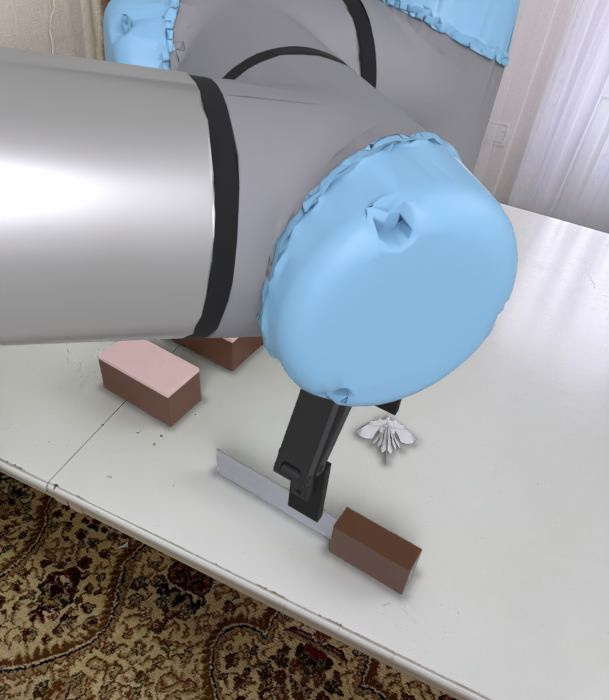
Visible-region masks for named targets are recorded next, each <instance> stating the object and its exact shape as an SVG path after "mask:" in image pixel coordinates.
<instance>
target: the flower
mask: <svg viewBox="0 0 609 700" xmlns="http://www.w3.org/2000/svg"><path fill="white" fill-rule="evenodd" d="M391 415H392V414H390V413H388V412H387V416H385V418H384V419H382V417H381V416H380V417H379V418H378V419H377V420H369V421H368V424H366V425H365V426H363V427H361V428H359V429H357V430H356V432H357V434H358V435H359V436H360V437H361V438H363V439H373V438H374V437H375V435H376V433H377V432H378V431H379V433H378V435H377V436H376V437H375V438H374V440H373V441H372V442H371V446H372V445H375V444H376V443H377V444H376V445H377V447H380V448H379V449H380V452H381V453H384V452H385V457H387V454H388V453H389V454H392V452H393V447H394V449H395V450H396V449H397V446H398V448H399V449H401V444H400V443H403V444H406V445H412V444H414V443H415V442H416V441H417V440H418V438H417V437H416V436H415V435H414V434H413V433H412V432H410V431H409V429H407V427H406V425H405V424H401V423H399V422H398V420H397V419H396V418H395V419H394V420H391V417H390V416H391ZM392 416H393V415H392ZM395 434H397V436H398V438H399V441H400V442H399V441H398V439H397V438H396V435H395ZM396 445H397V446H396ZM387 452H388V453H387Z"/></svg>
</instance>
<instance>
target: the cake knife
mask: <svg viewBox="0 0 609 700" xmlns="http://www.w3.org/2000/svg"><path fill="white" fill-rule="evenodd" d="M216 470H217V471H216V473H217V474H219V475H221V476H222V477H224V478H226V479H228V480H229V481H231V482H233V483H235V484H236V485H237V486H239V487H240V488H243V489H244V490H246V491H247V492H249V493H251V494H253V495H254V496H256V497H258V498H260V499H261V500H263V501H264V502H266V503H268V504H269V505H271V506H273V507H275V508H276V509H278V510H280V511H281V512H283V513H285V514H286V515H288V516H290V517H292V518H293V519H295V520H296V521H299V522H300V523H302V524H304V525H305V526H307V527H309V528H310V529H312V530H314V531H315V532H317V533H319V535H322V536H323V537H325V538H327V539H329V540H330V541H329V547H328V552H329V553H331V554H333V555H334V556H336V557H338V558H340V559H341V560H343V561H344V562H346V563H348V564H350V565H351V566H352V567H354V568H356V569H358V570H359V571H361V572H363V573H365V574H366V575H368V576H369V577H371V578H373V579H374V580H376V581H378V582H379V583H381V584H382V585H384V586H386V587H388V588H389V589H391V590H392V591H394V592H396V593H398V594H399V595H401V596H402V595H404V592H405V590H406V589H407V587H408V585H409V583H410V581H411V580H412V577H413V576H414V575H415V571H416V568H417V565H418V563H419V560H420V558H421V554H422V552H423V548H421V547H419V546H418V545H417V544H415V543H412V542H410V541H409V540H407V539H405V538H403V537H402V536H400V535H398V534H396V533H394V532H393V531H391V530H390V529H387V528H386V527H384V526H383V525H380V524H379V523H377V522H375V521H373V520H372V519H370V518H368V517H366V516H364V515H363V514H361V513H359V512H357V511H356V510H354V509H352V508H350V507H348V506H346V507H345V508H344V509H343V511H342V513H341V514H340V515H339V516H337V515H335V514H334V513H332V512H331V511H328V510H326V509H325V508H324V509H323V515H322V517H321V518H320V520H319V521H318V522H315V521H313V520H312V519H310V518H308V517H307V516H305V515H303V514H302V513H300V512H298V511H297V510H295V509H293V508H291V507H290V506H288V498H289V489H290V488H288V487H287V486H285V485H283V484H281V483H279V482H278V481H277V480H274V479H272V477H271V478H270V477H269V476H267V475H266V474H264V473H263V472H261V471H259V470H258V469H256V468H253V467H252V466H250V465H249V464H246V463H245V462H243V461H242V460H240V459H238V458H236V457H234V456H233V455H231V454H229V453H227V452H226V451H224V450H222V449H221V448H219V447H217V448H216Z"/></svg>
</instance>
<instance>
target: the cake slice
mask: <svg viewBox="0 0 609 700" xmlns="http://www.w3.org/2000/svg"><path fill="white" fill-rule="evenodd" d="M97 360H98V364H99V369H100V374H101V378H102V379H101V380H102V384H103V388H104V389H106V390H108V391H110V392H111V393H113V394H115V395H116V396H118V397H119V398H121V399H122V400H125V401H126V402H128V403H129V404H131V405H133V406H135V407H136V408H138V409H139V410H141V411H143V412H145V413H146V414H148V415H150V416H151V417H153V418H155V419H157V420H158V421H160V422H162V423H163V424H165V425H167V426H168V427H170V428H172V427H173V426H174V425H175V424H176V423H177V422H179V421H180V420H181V419H182V418H183V417H184V416H185V415H187V414H188V413H189V412H190V411H191V410H192V409H193V408H194V407H195V406H197V404H198V403H199V402H201V401H202V393H201V392H202V391H201V375H200V374H201V373H200V367H198V366H196V365H195V364H193V363H190V362H189V361H187V360H185V359H183V358H181V357H179V356H178V355H175V353H172V352H171V351H168V350H166V349H164V348H162V347H161V346H158V345H157V344H155V343H153V342H151V341H150V340H129V341H114V343H112V344H111V345H110V346H108V347H107V348H105V349H103V351H101V352H100V353H98V354H97Z"/></svg>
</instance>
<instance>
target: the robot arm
mask: <svg viewBox="0 0 609 700" xmlns="http://www.w3.org/2000/svg"><path fill="white" fill-rule="evenodd" d="M520 5H521V0H109V2H108V3H107V5H106V7H105V9H104V12H103V17H102V34H103V35H102V36H103V48H104V60H101V59H94V58H86V57H79V56H72V55H65V54H58V53H50V52H44V51H38V50H37V51H36V50H29V49H22V48H16V47H7V46H0V347H1V346H2V347H7V346H27V345H28V346H30V345H31V346H32V345H53V344H55V345H56V344H76V343H77V344H78V343H80V344H81V343H101V342H104V343H105V342H117V341H129V340H148V341H150V340H153V341H154V340H170V339H178V338H237V337H259V336H261V337H262V338H263V346H264V348H265V351H266V353H267V354H268V355H269V356H270V357H271V359H277V360H278V361H279V363H280V365H281V366H282V368H283V370H284V372H285V374H286V375H287V376H288V377H289V379H290V380H291V381H292V382H293V383H294V384H296V386H297V387H299V389H300V390H299V393H298V395H297V399H296V402H295V405H294V407H293V411H292V413H291V415H290V419H289V421H288V424H287V427H286V430H285V433H284V435H283V439H282V441H281V444H280V447H279V448H278V451H277V455H276V457H275V461H274V464H273V467H272V472H274V473H276V474H278V475H279V476H281V477H282V478H284V479H287V480H288V481H290V482H289V488H288V489H289V498H288V506H290V507H291V508H293V509H295V510H297V511H298V512H300V513H302V514H303V515H305V516H307V517H308V518H310V519H312V520H313V521H315V522H318V521H319V520H320V518H321V517H322V515H323V509H325V504H326V503H325V502H326V498H327V492H328V487H329V480H330V475H331V469H332V464H333V463H332V462H330V461H328V460H329V458H330V456H331V454H332V452H333V449H334V447H335V445H336V443H337V441H338V439H339V436H340V435H341V431H342V429H343V428H344V426H345V423H346V421H347V419H348V416H349V415H350V412H351V410H352V408H355V407H377V408H378V409H380V410H383V411H385V412H387V414H388V413H390V414H392V416H396V415H397V414H398V412H400V411H399V410H400V408H401V407H400V406H401V403H402V399H406V398H408V397H410V396H413V395H415V394H417V393H420V392H422V391H424V390H425V389H428V388H429V387H431V386H433V385H435V384H437V383H438V382H440V381H441V380H443V379H445V378H446V377H447V376H449V375H451V373H453V372H454V371H456V370H457V369H458V368H459V367H460V366H461V365H462V364H464V363H465V362H466V361H468V359H470V357H471V356H473V354H474V353H476V351H478V350H479V349H480V347H481V346H482V345H483V343H484V342H485V341H486V339H487V338H488V337H489V336H490V335H491V333H492V332H493V330H494V328H495V323H496V321H497V318H498V315H500V314H501V313H502V312H503V311H504V310H505V305H506V303H507V302H508V301H509V300H510V299H511V295H512V293H513V290H514V286H515V283H516V278H517V273H518V263H519V262H518V261H519V255H518V254H519V252H518V241H517V236H516V233H515V229H514V226H513V223H512V221H511V220H510V217H509V216H508V214H507V213H506V212H505V210H504V208H503V206H502V204H501V203H500V202H499V201H498V200H497V199H496V197H494V196H493V194H492V193H491V192H490V191H489V190H488V189H487V188H486V187H485V186H484V185H483V184H482V182H480V181H479V179H478V178H477V177H476V176H475V175H474V171H475V168H476V165H477V161H478V158H479V155H480V152H481V148H482V145H483V142H484V138H485V136H486V132H487V128H488V125H489V122H490V118H491V116H492V112H493V108H494V105H495V102H496V98H497V94H498V92H499V88H500V85H501V82H502V78H503V76H504V71H505V69H506V68H507V67H508V66H509V65H508V64H509V62H510V50H511V45H512V41H513V36H514V33H515V27H516V23H517V19H518V15H519V9H520Z"/></svg>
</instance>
